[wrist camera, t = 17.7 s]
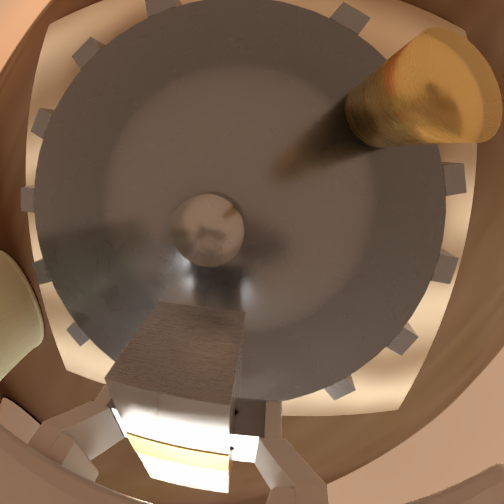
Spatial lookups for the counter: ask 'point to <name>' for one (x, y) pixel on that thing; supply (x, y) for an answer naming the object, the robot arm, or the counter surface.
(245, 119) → the sprocket
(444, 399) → the counter surface
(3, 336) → the can
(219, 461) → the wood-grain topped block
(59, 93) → the plate
